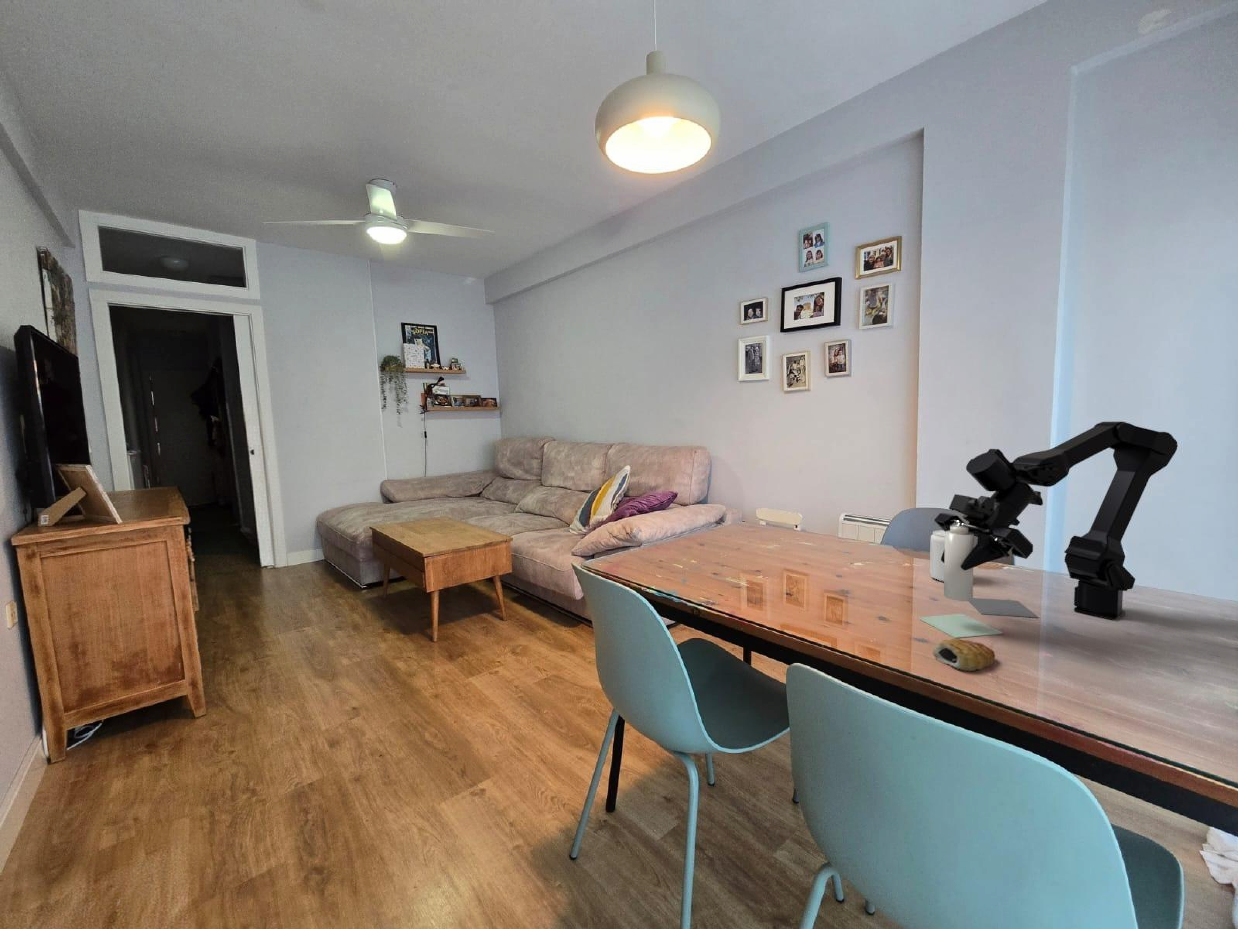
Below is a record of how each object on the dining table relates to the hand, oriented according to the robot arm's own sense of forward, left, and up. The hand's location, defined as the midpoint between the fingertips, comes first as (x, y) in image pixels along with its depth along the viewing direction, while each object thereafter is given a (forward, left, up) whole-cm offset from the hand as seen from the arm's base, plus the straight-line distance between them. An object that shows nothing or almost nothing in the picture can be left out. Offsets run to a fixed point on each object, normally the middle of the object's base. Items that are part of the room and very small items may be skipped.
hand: (952, 565), depth 101 cm
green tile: (-1, -1, -12) cm, 13 cm away
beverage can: (+15, -30, -13) cm, 36 cm away
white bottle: (-1, -1, -7) cm, 7 cm away
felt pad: (-1, -18, -12) cm, 22 cm away
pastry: (-8, +14, -13) cm, 21 cm away
